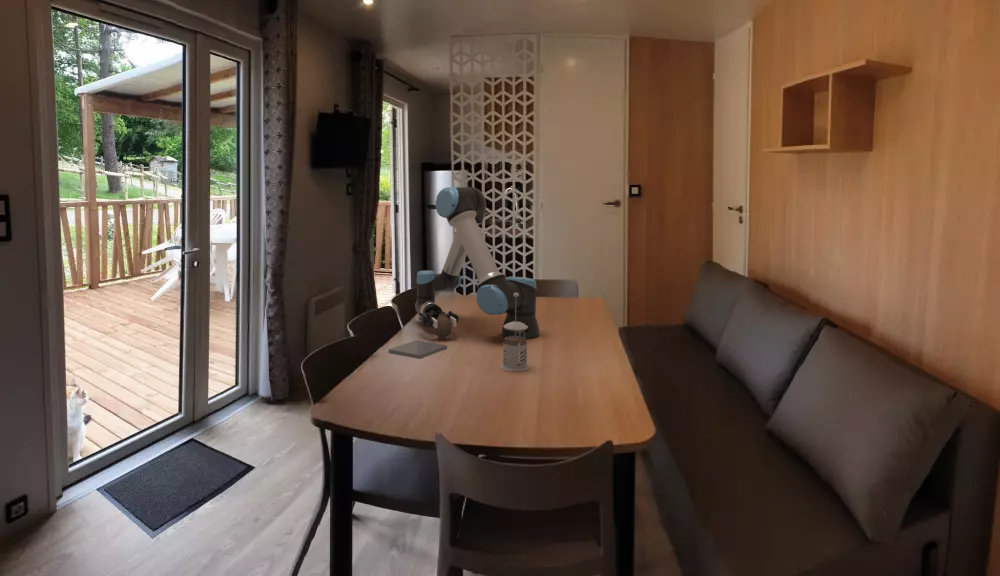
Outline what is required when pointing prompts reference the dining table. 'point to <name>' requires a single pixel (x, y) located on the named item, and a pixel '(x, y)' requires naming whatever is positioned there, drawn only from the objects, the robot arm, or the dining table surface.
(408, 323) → the dining table surface
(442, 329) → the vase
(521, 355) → the french press
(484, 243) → the robot arm
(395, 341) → the dining table surface
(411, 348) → the slate tile
